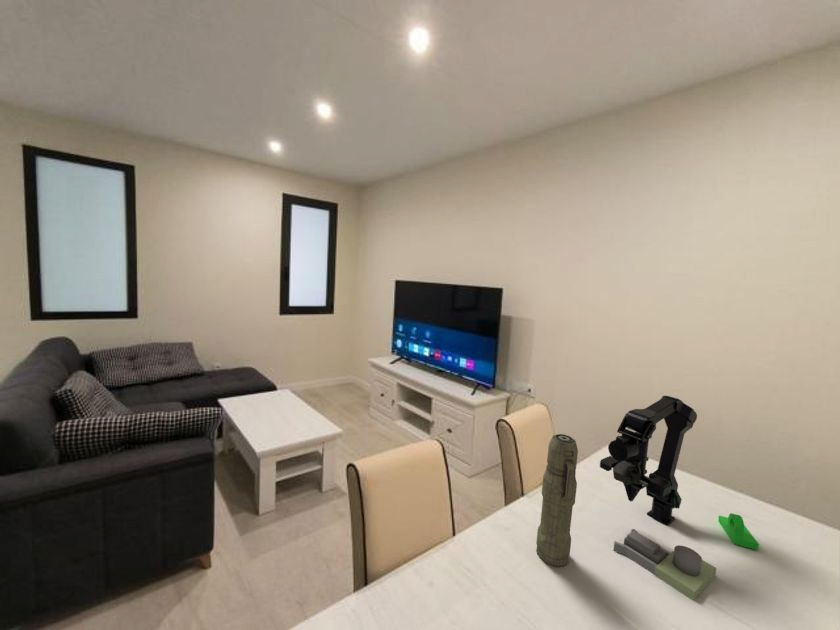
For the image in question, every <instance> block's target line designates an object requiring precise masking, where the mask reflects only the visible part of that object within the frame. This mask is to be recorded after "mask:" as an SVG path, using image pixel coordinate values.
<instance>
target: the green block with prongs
mask: <svg viewBox="0 0 840 630" xmlns="http://www.w3.org/2000/svg"><path fill="white" fill-rule="evenodd" d="M630 531H631V532H633V531H636V532H638V531H637V530H636V529H634V528H632V529H630ZM631 532H630V533H631ZM660 549H662V550H663V551H665V552H666V558H665V559H664V560H662V561H661V562H660V563H659V564H658V565H657V564H656V563H654V562H652V561H651V560H649V559H648V558H646V557H644V556H643V555H641V554H640V553H638V552H636V551H635V550H633V549H632V548H630V547H628V546H626V545H624V543H621V542H619V541H616V540H614V543H613V550H612V551H613V552H616V553H618V554H620V555H621V554H622V555H624V556H625V557H626V558H628V559H630V560H631V561H633V562H635V563H636V564H638V565H639V566H641V567H642V568H644V570H647V571H649V572H650V573H652V574H653V576H655V577H657V578H659V580H661V581H663V582H665V583H666V584H668V585H669V586H671V587H672V588H673V589H675V590H676V591H678V592H679V593H681V594H683V595H684V596H685V597H687V598H688V599H690V600H692V601H695V600H696V598H697V597H698V596H699V595H700V594H701V592H703V591H704V589H705V588H706V587H707V586H708V585H709V584H710V583H711V582H712V580H713V579H714V578H715V577H716V575H717V566H714V565H712V564H711V563H709V562H707V561H705V560H703V557H702V556H701V555H700V554H699V552H697V551H695V550H694V549H692V548H690V547H688V546H684V545H675V546H674V549H673V551H668V550H666V549H665V548H664V547H661V546H660Z"/></svg>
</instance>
